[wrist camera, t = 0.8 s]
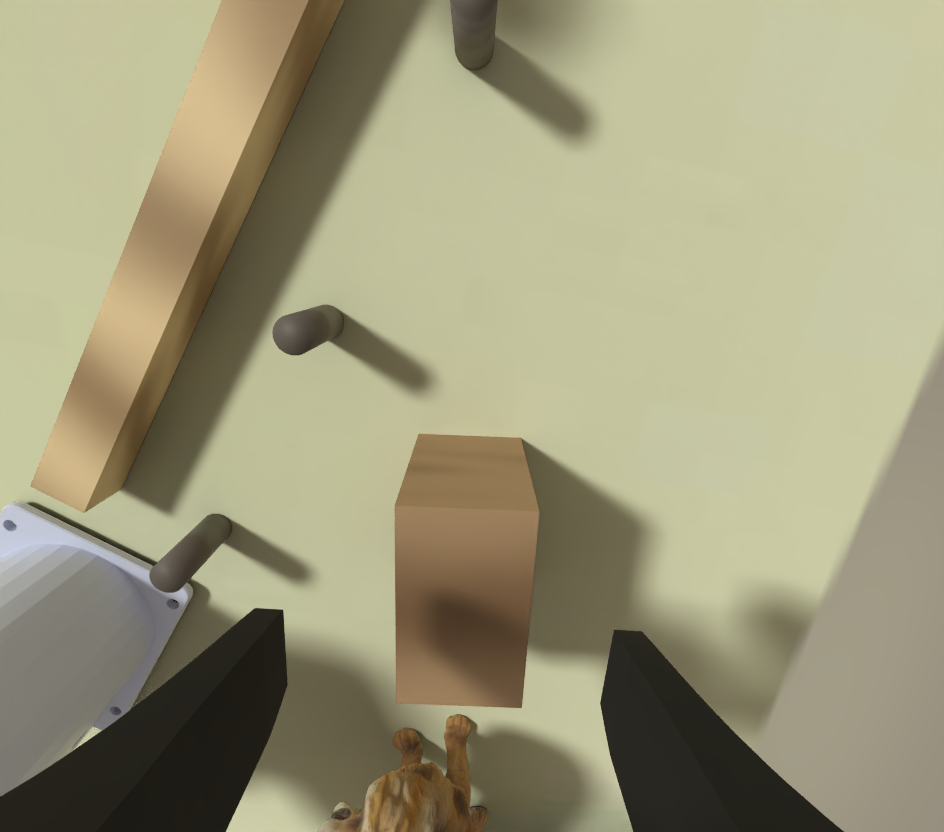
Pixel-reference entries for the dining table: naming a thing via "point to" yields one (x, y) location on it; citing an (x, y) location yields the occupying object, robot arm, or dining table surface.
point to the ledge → (200, 247)
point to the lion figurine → (417, 791)
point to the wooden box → (464, 571)
